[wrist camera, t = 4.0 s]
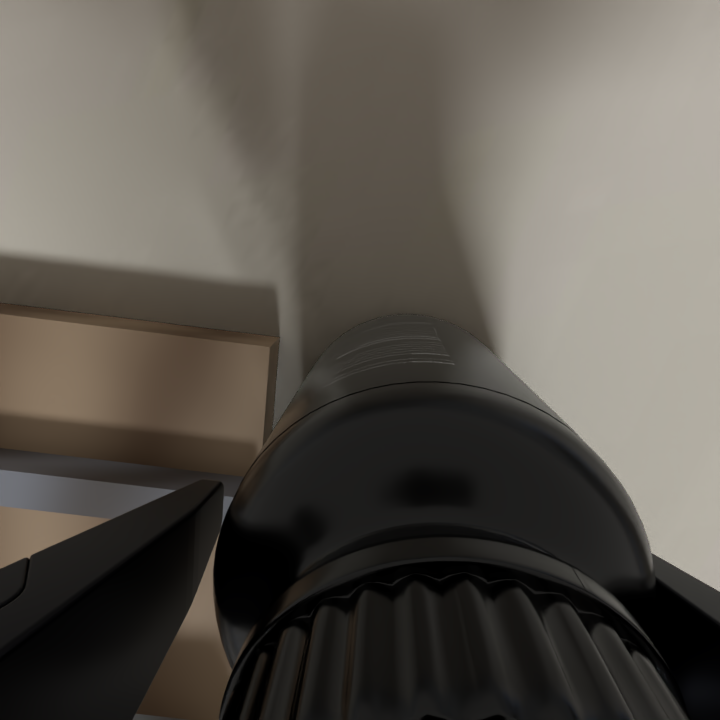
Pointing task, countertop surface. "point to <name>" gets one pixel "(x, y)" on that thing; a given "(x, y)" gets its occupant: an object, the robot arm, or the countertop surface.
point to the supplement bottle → (433, 550)
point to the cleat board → (129, 449)
